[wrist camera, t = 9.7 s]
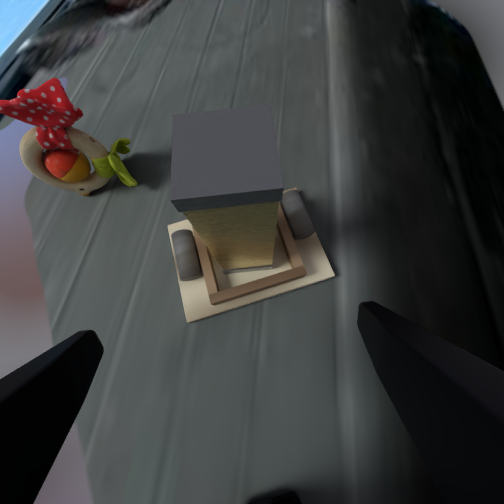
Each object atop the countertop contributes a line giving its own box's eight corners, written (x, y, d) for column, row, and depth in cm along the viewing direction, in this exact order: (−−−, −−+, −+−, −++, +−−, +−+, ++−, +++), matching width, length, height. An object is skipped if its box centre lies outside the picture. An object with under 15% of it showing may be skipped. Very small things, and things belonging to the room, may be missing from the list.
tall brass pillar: (272, 269, 21) (283, 187, 9) (224, 274, 22) (170, 200, 9) (267, 224, 23) (270, 103, 11) (221, 229, 23) (172, 115, 11)
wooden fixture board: (332, 277, 22) (341, 270, 19) (189, 323, 21) (178, 322, 18) (295, 191, 25) (298, 175, 22) (170, 228, 24) (158, 216, 22)
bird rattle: (107, 222, 27) (159, 177, 25) (-38, 185, 17) (23, 102, 15) (97, 182, 29) (144, 137, 27) (-37, 129, 19) (16, 46, 17)
